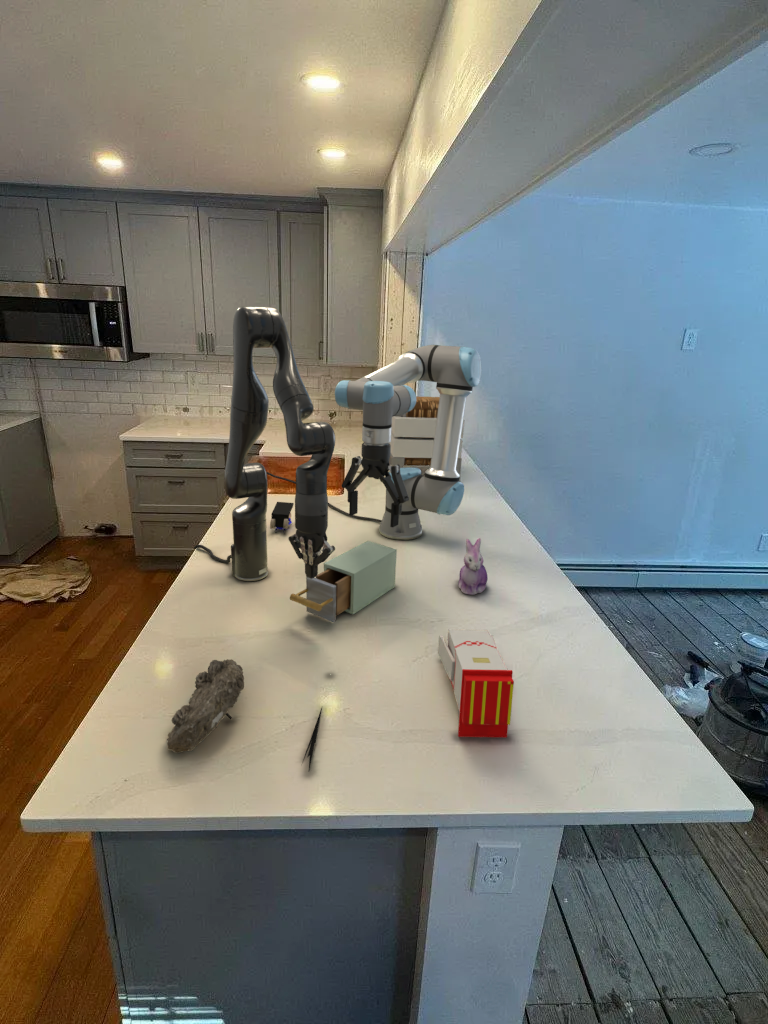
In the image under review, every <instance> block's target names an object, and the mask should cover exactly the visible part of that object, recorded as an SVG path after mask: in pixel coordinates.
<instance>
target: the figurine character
mask: <svg viewBox="0 0 768 1024" xmlns="http://www.w3.org/2000/svg"><path fill="white" fill-rule="evenodd" d="M294 506H295V502H287V501H285V502H284V501H276V504H275V505H274V508H273V510H272V512H271V515H270V516H271V518H270V520H269V521H270V522H269V529H272V530H274V533H276V534H277V533H278V530H280V531H282V534H285V533H286V531H287V530H288V529H289V528H290V525H292V511H293V508H294Z"/></svg>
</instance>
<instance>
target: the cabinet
mask: <svg viewBox="0 0 768 1024" xmlns="http://www.w3.org/2000/svg"><path fill="white" fill-rule="evenodd" d="M397 552H398V549H396V548H393V547H390V546H387V545H384V544H381V543H377V542H374V541H371V540H367V541H364V542H363V543H361V544H359V545H356V546H355V547H352V548H351V549H349V550H347V551H344V552H343V553H341V554H339V555H337V556H335V557H333V558H331V559H329V560H326V561H324V562H323V572H324V571H326V570H327V569H329V568H330V569H333V570H335V571H338V572H341V573H344V574H347V575H350V576H351V603H350V608H348V609H347V610H345V611H344V612H345V613H347V614H349V615H354V614H356V613H358V612H360V611H361V610H362V609H364V608H366V607H367V606H368V605H370V604H371V603H373V602H374V601H376V600H377V599H379V598H380V597H382V596H384V595H385V594H387V593H389V591H391V590H392V589H394V588H395V587H396V569H397V554H398V553H397Z"/></svg>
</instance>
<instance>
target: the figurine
mask: <svg viewBox="0 0 768 1024" xmlns="http://www.w3.org/2000/svg"><path fill="white" fill-rule="evenodd" d="M481 545H482V539H481V538H480V537H478V538H477V539H476V541H475V542H474V544H472V542H471V540H470V539H469V538H466V539H465V551H466V553H465V554H464V557H463V564H464V565H463V566H462V567H461V568H460V570H459V575H458V576H459V580H458V584H457V585H458V588H459V589H460V590H461V593H463V594H465V595H473V596H474V595H477V594H481V593H482V592H483V591H485V590H486V586H487V584H488V583H487V582H488V572H487V568H486V567H485V566H484V557H483V555H482V553H481Z"/></svg>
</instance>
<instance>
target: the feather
mask: <svg viewBox="0 0 768 1024" xmlns="http://www.w3.org/2000/svg"><path fill="white" fill-rule="evenodd" d="M329 675H330V676H331V675H332V674H331V673H330V674H329ZM322 710H323V707H321V708H320V710H319V713H318V716H317V719H316V723H315V725H314V728H313V731H312V733H311V737H310V739H309V742H308V745H307V748H306V751H305V754H304V757H303V760H302V763H301V767H302V765H303V763H304V761H305V758H308V759H309V760H308V762H307V763H308V764H307V766H308V771H310V770H311V766H312V765H311V764H312V760H313V757H315V756H314V755H315V751H316V749H315V746H317V739H318V733H319V729H320V722H321V717H322V712H323V711H322ZM313 754H314V755H313ZM306 755H307V757H306Z"/></svg>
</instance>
